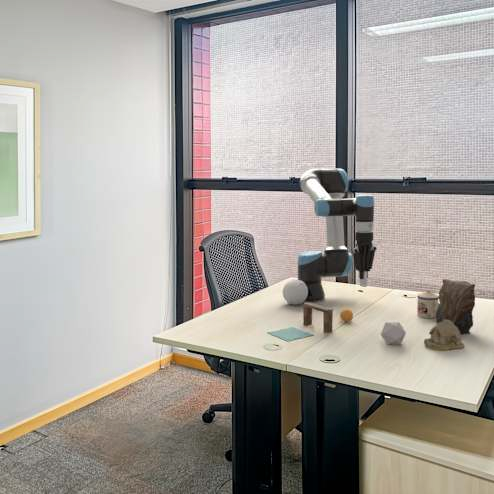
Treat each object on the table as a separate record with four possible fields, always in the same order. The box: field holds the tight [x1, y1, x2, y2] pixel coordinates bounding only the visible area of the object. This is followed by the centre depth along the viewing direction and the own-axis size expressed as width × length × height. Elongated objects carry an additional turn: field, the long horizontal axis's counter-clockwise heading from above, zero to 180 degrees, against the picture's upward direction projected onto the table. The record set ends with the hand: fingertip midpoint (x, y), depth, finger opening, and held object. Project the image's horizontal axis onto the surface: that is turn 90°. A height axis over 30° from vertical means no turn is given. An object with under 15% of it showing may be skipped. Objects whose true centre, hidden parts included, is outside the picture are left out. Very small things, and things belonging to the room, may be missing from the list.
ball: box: [339, 308, 354, 323], centre depth 236 cm, size 6×6×6 cm
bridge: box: [302, 302, 334, 334], centre depth 227 cm, size 3×14×9 cm, turn 33°
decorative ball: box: [282, 279, 308, 306], centre depth 266 cm, size 12×12×12 cm
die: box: [380, 321, 407, 346], centre depth 207 cm, size 8×9×10 cm
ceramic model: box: [423, 319, 465, 351], centre depth 204 cm, size 14×11×10 cm
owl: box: [435, 278, 476, 335], centre depth 221 cm, size 13×13×20 cm
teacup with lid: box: [416, 288, 440, 319], centre depth 242 cm, size 12×9×12 cm
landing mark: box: [266, 326, 314, 342], centre depth 220 cm, size 13×13×1 cm
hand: (363, 286), depth 239 cm, fingers closed
